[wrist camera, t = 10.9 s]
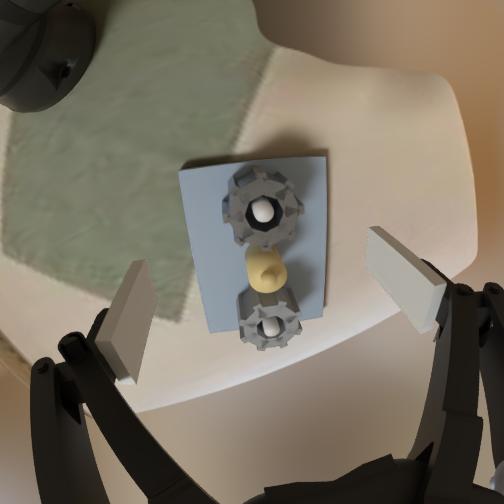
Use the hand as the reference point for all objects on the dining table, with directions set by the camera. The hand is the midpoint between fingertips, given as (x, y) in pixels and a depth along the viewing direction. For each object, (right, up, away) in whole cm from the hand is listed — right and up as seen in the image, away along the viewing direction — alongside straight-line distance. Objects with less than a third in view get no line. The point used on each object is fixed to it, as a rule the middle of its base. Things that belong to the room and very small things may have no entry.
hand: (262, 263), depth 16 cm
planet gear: (0, +6, +15) cm, 16 cm away
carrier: (0, +1, +19) cm, 19 cm away
